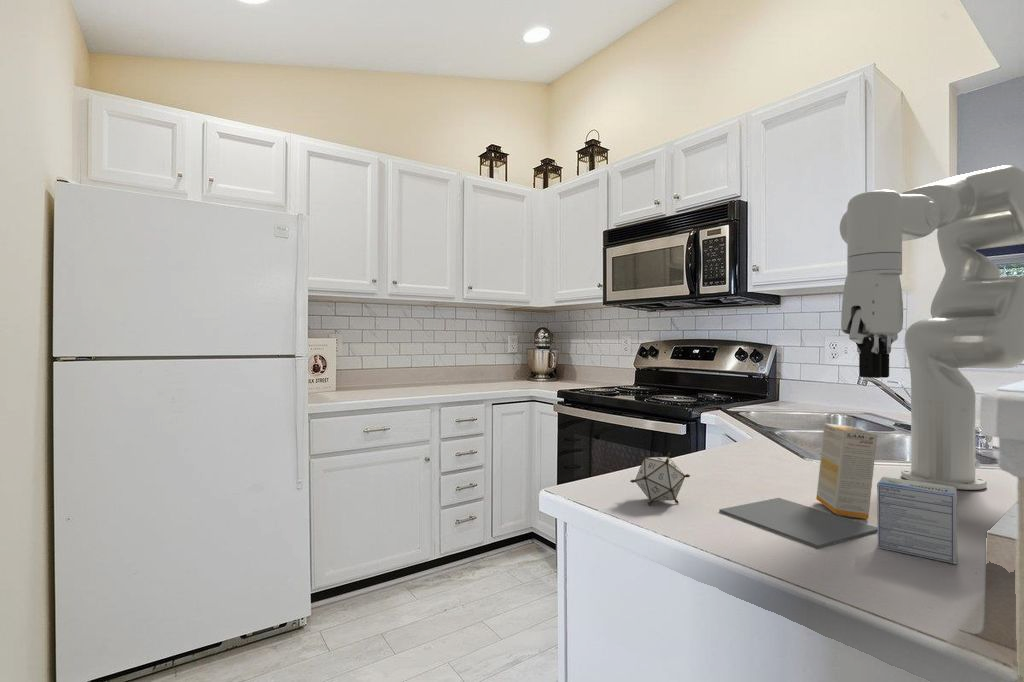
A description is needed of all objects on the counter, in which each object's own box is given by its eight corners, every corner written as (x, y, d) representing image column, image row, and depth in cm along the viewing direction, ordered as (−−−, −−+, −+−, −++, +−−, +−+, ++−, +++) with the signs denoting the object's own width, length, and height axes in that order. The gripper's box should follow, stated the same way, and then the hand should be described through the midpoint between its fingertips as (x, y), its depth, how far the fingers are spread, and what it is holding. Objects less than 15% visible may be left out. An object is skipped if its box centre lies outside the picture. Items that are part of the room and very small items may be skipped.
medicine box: (957, 555, 65) (957, 486, 65) (956, 566, 62) (956, 494, 62) (881, 539, 70) (881, 475, 70) (876, 548, 67) (876, 482, 67)
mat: (778, 500, 87) (778, 497, 87) (880, 531, 73) (880, 528, 73) (719, 511, 81) (719, 509, 81) (818, 548, 67) (818, 545, 67)
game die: (647, 524, 86) (611, 473, 88) (674, 497, 91) (639, 450, 93) (683, 512, 79) (642, 457, 81) (710, 483, 84) (671, 432, 86)
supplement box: (870, 520, 77) (879, 434, 77) (834, 515, 78) (844, 430, 78) (846, 503, 85) (855, 425, 85) (814, 499, 86) (823, 421, 86)
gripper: (877, 272, 93) (877, 374, 93) (822, 267, 86) (822, 377, 86) (925, 267, 86) (925, 377, 86) (870, 260, 79) (870, 380, 79)
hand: (874, 376), depth 86 cm, fingers closed
